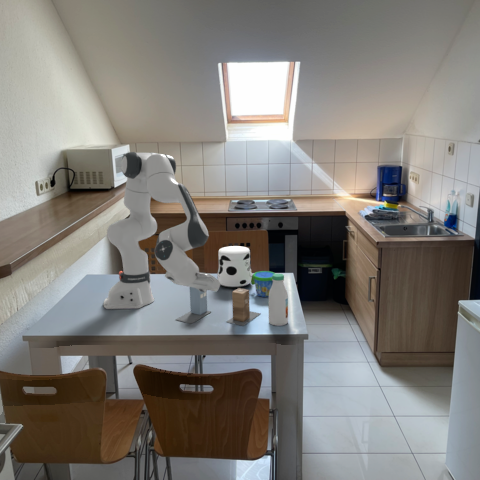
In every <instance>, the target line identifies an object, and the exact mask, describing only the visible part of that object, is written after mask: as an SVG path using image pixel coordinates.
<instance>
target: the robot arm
mask: <svg viewBox="0 0 480 480" xmlns="http://www.w3.org/2000/svg"><path fill="white" fill-rule="evenodd" d="M120 168H121V172H122V175H124V177H125V178H126V183H125V189H124V196H123V204H124V207H125V208H127V209H128V210H129V217H126V218H123V219H120V220H116V221H114V222H113V223H111V224H109V225H108V227H107V229H106V235H107V236H106V237H107V239H108V241H109V242H110V243H111V244H112V245H113V246H115V247H116V248H117V249H118V251H119V253H120V255H121V256H120V257H121V260H122V267H123V268H122V270H123V271H122V270H120V271H119V272H118V277H119V280H118V282H116V283H115V284H114V285H113V286H111V287H110V289H109V291H108V293H107V297H106V298H105V299H104V301H103V308H104V309H107V310H112V309H113V310H117V309H118V310H119V309H120V310H121V309H123V310H124V309H141V308H142V307H144V306H147V305H149V304H150V305H151V304H152V303H153V302H154V301H155V298H154V296H153V292H152V287H151V271H150V270H149V259H148V258H149V257H148V254H147V252H146V251H144V250H143V249H141V247H140V244H139V242H140V241H143V240H146V239H148V238H150V237H152V236H153V235H155V234H156V233H157V229H158V223H157V221H156V218H155V217H153V216H152V214H151V199H153V200H155V201H157V202H160V203H163V204H171V203H178V204H180V205H181V206H182V209H183V212H184V214H185V216H186V220H185V221H184V222H182V223H180V224H178V225H175V226H172V227H170V228H167V229H166V230H165V229H164V230H163V231H160V232H159V234H158V236H157V239H156V242H155V243H156V245H155V248H154V255H155V258H156V260H157V261H158V263H159V264H160V265H161V267H163V269H165V270H166V272H165V275H164V278H165V279H167V280H169V281H170V282H171V283H173V284H175V285H178V286H182V287H188V288H190V287H193V288H196V289H198V290H199V291H202V292H206V291H211V292H218V291H219V289H220V288H221V287H220V286H221V285H220V282H219V281H218V278H217V277H215V276H214V275H212V274H211V273H208V272H207V273H206V272H200V268H199V266H198V265H197V263H195V262H194V261H193V260H192V259H191V258H190V257H188V255H187V254H186V252H187V251H189V250H193V249H196V248H199V247H203V246H204V245H205V244H206V243H207V242H208V239H209V236H210V235H209V234H210V233H209V231H208V229H207V226H206V224H205V223H204V221H203V220H202V217H201V215H200V213H199V210H198V208H197V207H196V205H195V202H194V199H193V198H192V196H191V193H190V191H189V190H188V189H187V187H186V186H185V185H184V184H183V183H181V182H180V183H179V182H177V180H176V176H175V174H176V172H177V163H176V160H175V159H174V157H173V156H171V155H168V154H162V153H157V152H135V151H129V152H126V153H125V154H124V155H123V157H122V160H121V163H120Z"/></svg>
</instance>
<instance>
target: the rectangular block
mask: <svg viewBox="0 0 480 480" xmlns="http://www.w3.org/2000/svg"><path fill="white" fill-rule="evenodd" d="M207 291H208V290H207ZM207 291H206V292H202V291H199V290H198V289H196V288H193V287H189V300H190V302H189V303H190V304H189V305H190V306H189V307H190V311H191V313H194V314H198V315H201V314H203V313H205V312H207V311H208V299H207V298H208V296H207V295H208V294H207Z"/></svg>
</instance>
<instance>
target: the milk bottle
mask: <svg viewBox="0 0 480 480" xmlns="http://www.w3.org/2000/svg"><path fill="white" fill-rule="evenodd" d="M272 280H273V284H272V287H271V289H270V292H269V297H268V322H269V324H270V325H272V326H274V327H275V326H276V327H277V326H278V327H279V326H282V327H283V326H285V325H286V324H288V322H289V296H288V290H287V288H286V286H285V283H284V281H285V275H284V274H282V273H275V274H273V275H272Z"/></svg>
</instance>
